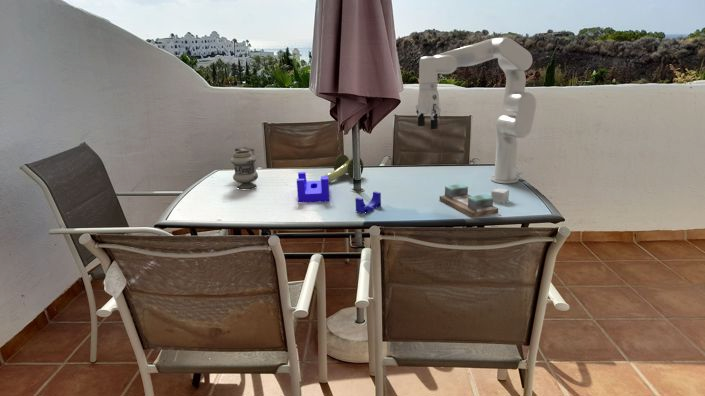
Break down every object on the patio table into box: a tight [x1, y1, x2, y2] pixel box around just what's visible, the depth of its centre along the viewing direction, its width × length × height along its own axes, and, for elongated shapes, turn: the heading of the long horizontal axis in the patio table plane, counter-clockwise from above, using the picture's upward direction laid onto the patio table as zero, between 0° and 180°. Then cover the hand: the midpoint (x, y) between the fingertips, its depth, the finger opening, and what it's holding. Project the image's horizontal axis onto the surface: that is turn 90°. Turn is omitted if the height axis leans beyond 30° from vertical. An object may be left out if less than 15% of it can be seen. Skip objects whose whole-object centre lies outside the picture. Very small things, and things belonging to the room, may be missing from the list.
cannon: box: [323, 154, 364, 184], centre depth 237 cm, size 25×12×11 cm, turn 136°
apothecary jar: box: [230, 150, 259, 190], centre depth 228 cm, size 12×12×18 cm
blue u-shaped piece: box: [354, 191, 382, 214], centre depth 192 cm, size 12×4×6 cm, turn 135°
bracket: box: [296, 171, 330, 203], centre depth 213 cm, size 21×14×10 cm, turn 3°
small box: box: [490, 187, 510, 205], centre depth 196 cm, size 6×6×5 cm
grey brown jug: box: [234, 146, 257, 172], centre depth 245 cm, size 9×6×16 cm
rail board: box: [439, 183, 499, 219], centre depth 191 cm, size 12×24×6 cm, turn 21°
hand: (427, 127), depth 202 cm, fingers open, 9 cm apart
